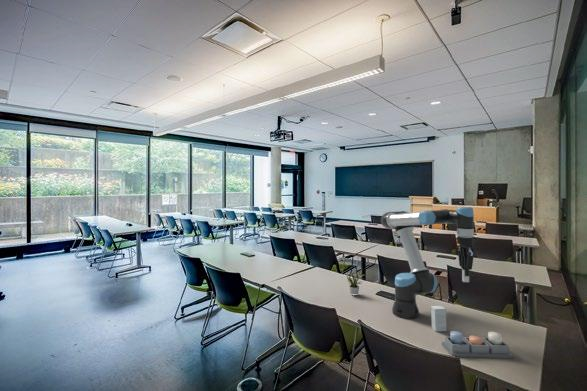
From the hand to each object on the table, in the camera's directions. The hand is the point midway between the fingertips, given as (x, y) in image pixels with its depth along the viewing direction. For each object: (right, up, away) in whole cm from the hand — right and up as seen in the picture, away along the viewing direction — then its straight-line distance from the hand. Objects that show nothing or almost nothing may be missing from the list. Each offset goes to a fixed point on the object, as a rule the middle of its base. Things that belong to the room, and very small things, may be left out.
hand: (465, 281), depth 148 cm
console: (-6, -27, -17) cm, 32 cm away
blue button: (-14, -23, -17) cm, 32 cm away
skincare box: (-12, -27, +3) cm, 30 cm away
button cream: (+3, -22, -18) cm, 29 cm away
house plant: (-45, -27, +57) cm, 77 cm away
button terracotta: (-6, -24, -17) cm, 30 cm away
